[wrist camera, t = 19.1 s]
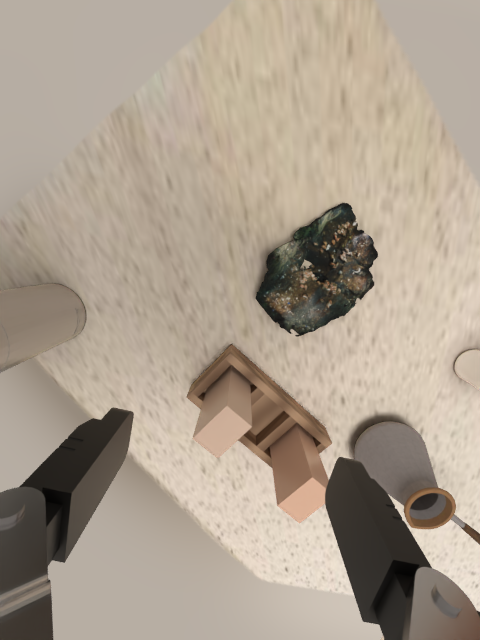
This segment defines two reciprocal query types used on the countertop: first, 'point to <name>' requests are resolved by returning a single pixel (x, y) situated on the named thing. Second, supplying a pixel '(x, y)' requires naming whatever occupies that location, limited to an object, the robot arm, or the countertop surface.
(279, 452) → the clay bar
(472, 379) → the drinking glass
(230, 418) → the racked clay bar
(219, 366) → the wooden divided tray
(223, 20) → the countertop surface
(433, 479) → the coffee pot
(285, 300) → the decorative rock
